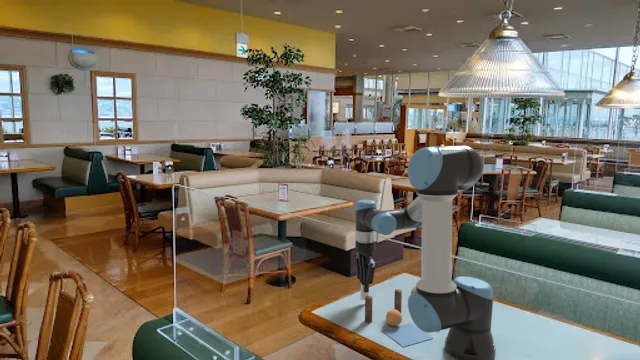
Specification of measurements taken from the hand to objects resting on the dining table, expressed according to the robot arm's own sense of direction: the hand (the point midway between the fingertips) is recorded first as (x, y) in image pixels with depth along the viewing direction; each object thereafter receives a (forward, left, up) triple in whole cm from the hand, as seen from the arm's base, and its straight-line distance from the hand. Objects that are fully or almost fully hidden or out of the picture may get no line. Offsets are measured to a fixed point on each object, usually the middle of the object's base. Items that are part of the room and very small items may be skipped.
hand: (364, 298), depth 176 cm
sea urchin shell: (-6, -24, -2) cm, 24 cm away
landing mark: (-27, 0, -2) cm, 27 cm away
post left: (-13, +6, -2) cm, 15 cm away
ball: (-20, 0, +1) cm, 20 cm away
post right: (-13, -6, -2) cm, 15 cm away
